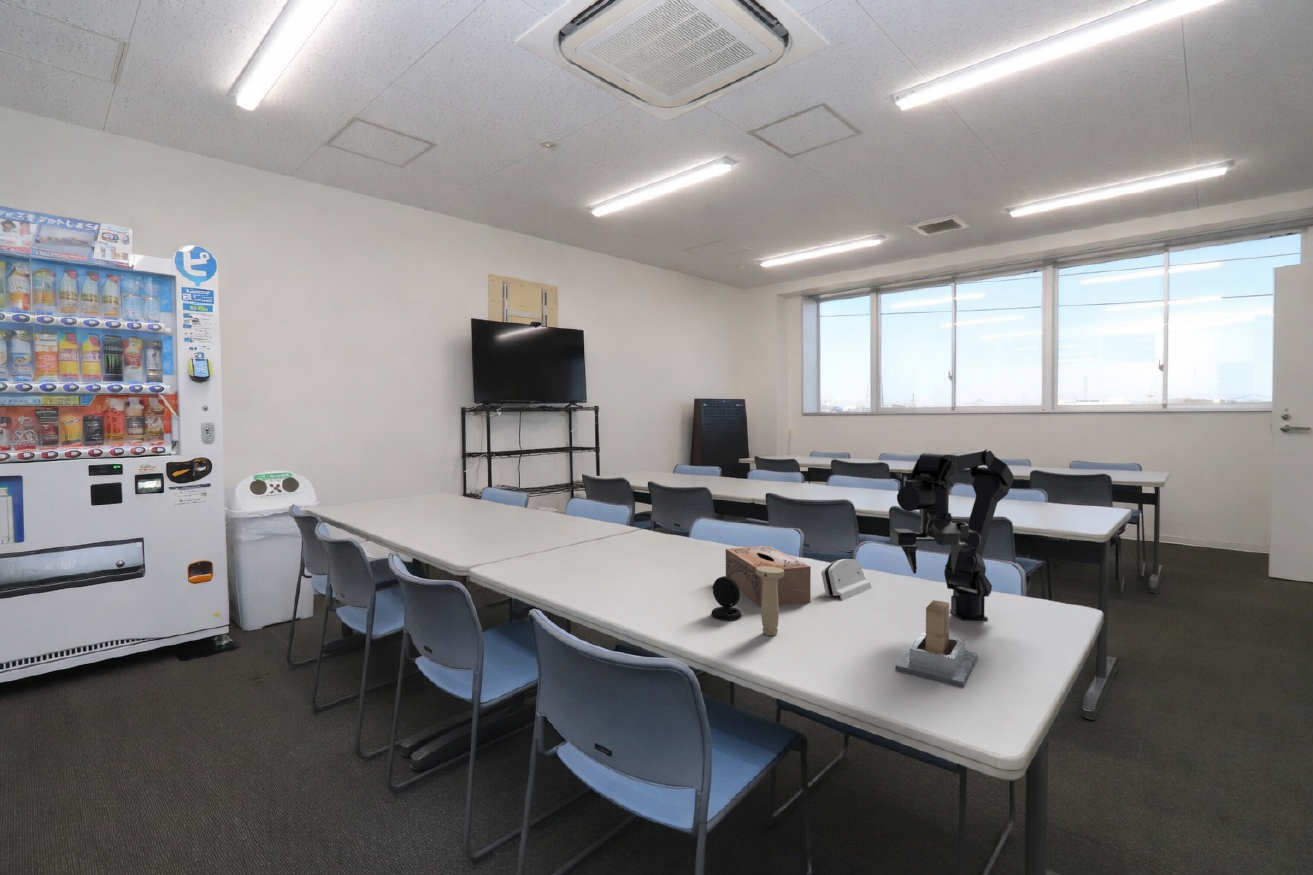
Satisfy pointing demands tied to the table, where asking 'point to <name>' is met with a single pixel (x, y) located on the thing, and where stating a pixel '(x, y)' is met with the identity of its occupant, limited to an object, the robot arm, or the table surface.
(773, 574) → the handle
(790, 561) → the tissue box cover
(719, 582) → the webcam
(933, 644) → the tan tall block
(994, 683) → the table surface
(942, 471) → the robot arm
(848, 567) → the hinge
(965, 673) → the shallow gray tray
